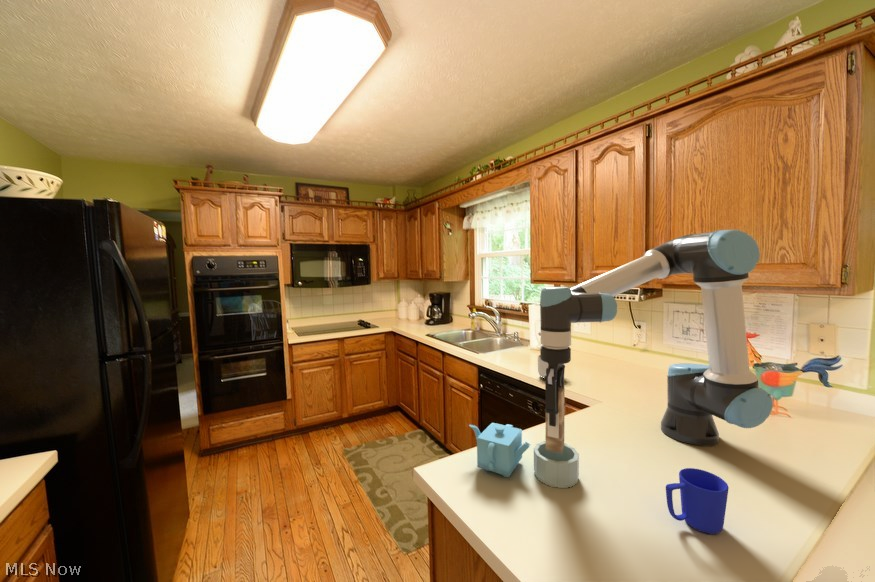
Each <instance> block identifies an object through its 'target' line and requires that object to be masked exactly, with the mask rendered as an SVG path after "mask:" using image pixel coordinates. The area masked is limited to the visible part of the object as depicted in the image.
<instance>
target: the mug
mask: <svg viewBox="0 0 875 582" xmlns="http://www.w3.org/2000/svg"><path fill="white" fill-rule="evenodd" d="M678 480H679V483H678V482H675V483H667V484H666V485H665V495H666V496H665V497H666V504H667V509H668V512H669V514H670V516H671V517H672V518H673V519H675V520H676V521H679V522H680V521H685V522H686V523H687V524H688V525H689V526H690V527H692V528H694V529H695V530H697V531H699V532H701V533H704V534H709V535H710V534H711V535H715V534H719V533H721V532H722V530H723V529H724V526H725V517H726V509H727V502H728V496H729V488H730V487H729V485H728V483H727V482H726V481H725V479H723V478H722V477H720V476H718V475H716V474H714V473H712V472H709V471H706V470H703V469H700V468H693V467H687V468H686V467H685V468H683V469H681V470H679V472H678ZM676 490H679V492H680V503H681V504H680V506H681V514H676V513H675V510H674V509H675V508H674V502H673V501H674V500H673V491H676Z"/></svg>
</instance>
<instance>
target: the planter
mask: <svg viewBox="0 0 875 582" xmlns="http://www.w3.org/2000/svg"><path fill="white" fill-rule="evenodd" d="M563 365H565V364H563ZM546 368H548V363H547V362H544V361H542V360H541V358H540V354H539V355H537V370H538V375H539V376H540V377H541V376H542V377H545V375H546ZM546 376H547V375H546ZM542 377H541V378H542Z"/></svg>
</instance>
